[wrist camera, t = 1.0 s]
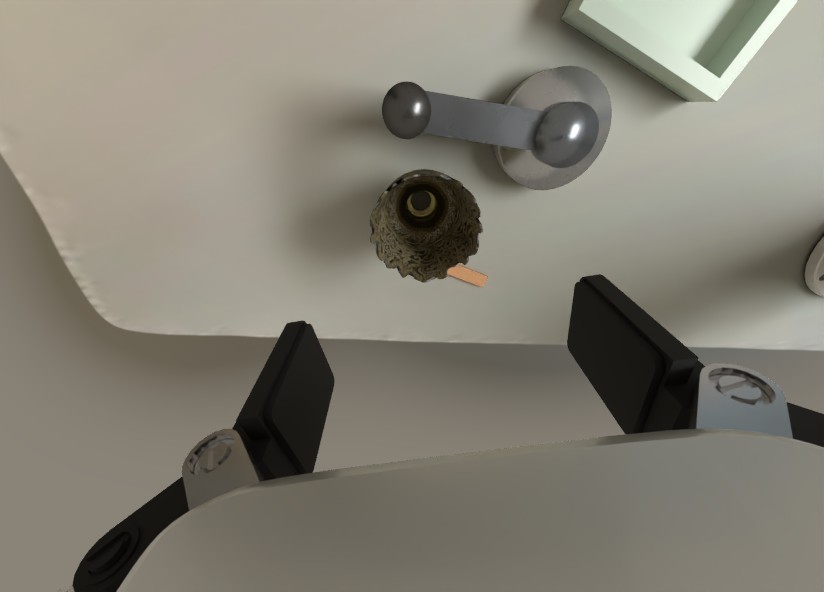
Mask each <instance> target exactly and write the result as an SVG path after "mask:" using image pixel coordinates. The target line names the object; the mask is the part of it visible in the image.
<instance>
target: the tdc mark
mask: <svg viewBox="0 0 824 592" xmlns="http://www.w3.org/2000/svg"><path fill="white" fill-rule="evenodd" d="M447 274H448V275H451V276H454V277H456V278H459V279H462V280H464V281H467V282H470V283H472V284H475V285H478V286H480V287H483V285H484V283H485V282H486V280H487V279H488V276H486V275H483V274H480V273H478V272H475V271H473V270H470V269H467V268H465V267H462V266H460V265H456V266H455V267H451V268H449V269H448V271H447Z"/></svg>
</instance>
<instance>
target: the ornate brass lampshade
mask: <svg viewBox="0 0 824 592" xmlns="http://www.w3.org/2000/svg"><path fill="white" fill-rule="evenodd" d="M420 191H422V192H425V193H427V194H428V195H429V197H430V204H429V206H428V207H427V208H426V209H425V210H417V209H415V208H414V207H413V205H412V197H413V195H414V194H415V193H417V192H420ZM479 217H480V209H479V207H478V205H477V203H476V199H475V198H474V196H473V195H472V194H471V193H470V192H469V191H468V190H467V189H466V188H465V187H463V184H462V183H461V182H459V181H457V180H455V179H453V178H451V177H449V176H447V175H445V174H443V173H441V172H438V171H434V170H426V169H423V170H415V171H411V172H408V173H406V174H404V175H402V176H401V177H399V178H398V179H396V180H395V181H394V182H393V183H392V184H391V185H390V186H389V187H388V188H387V190H385V191H384V193H383V194H382V195H381V197H380V198H379V200H378V202H377V204H376V206H375V207H374V209H373V212H372V214H371V219H370V225H371V229H372V234H371V243H374V244H376V253H377V256H378V258H379V259H380V260H381V261H383V260H384V263H385V264H386V267H387V268H393V269H395V268H396V267H397V269H398V271H399V273H400V274H401V276H402V277H403V278H404V277H406V276H407V275H411V276H412V277H414V279H416V280H418V281H421V282H428V281H430V280H432V279H434V278H436V277H437V278H438V279H444V278H446V277H447V275H448V274H447V271H448V269H449V268H451V267H455V266H456V265H457V264H458V263H463V264H464V265H465V264H467V262H468V256H472V255H475V254H476V253H477V251H478V247H479V241H478V233H481V232H483V229H482V224H481V223H480V221H479V219H478V218H479Z"/></svg>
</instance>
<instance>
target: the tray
mask: <svg viewBox="0 0 824 592" xmlns="http://www.w3.org/2000/svg"><path fill="white" fill-rule="evenodd" d="M797 1H798V0H570V2H569V4H568V6H567V8H566V10H565V12H564V14H563V16H562V18H561V20H563V21H565V22H566V23H568V24H569V25H571V26H572V27H574V28H575V29H577V30H578V31H580V32H582V33H583V34H585V35H586V36H588V37H589V38H591V39H592V40H594V41H595V42H597V43H599V44H600V45H602V46H603V47H605V48H606V49H608V50H609V51H611V52H612V53H614V54H616V55H617V56H619V57H620V58H622V59H623V60H625V61H626V62H628V63H630V64H631V65H633V66H634V67H636V68H637V69H639V70H640V71H642V72H643V73H645V74H647V75H648V76H650V77H651V78H653V79H654V80H656V81H657V82H659V83H660V84H662V85H664V86H665V87H667V88H668V89H670V90H671V91H673V92H674V93H676V94H677V95H679V96H681V97H682V98H684V99H685V100H687V101H688V102H717V101H718V100H719V98H720V97H721V96H722V95H723V93H724V92H725V91H726V90H727V88H728V87H729V86H730V85H731V83H732V82H733V81H734V80H735V78H736V77H737V76H738V75H739V73H740V72H741V71H742V70H743V68H744V67H745V66H746V65H747V63H748V62H749V61H750V60H751V58H752V57H753V56H754V55H755V53H756V52H757V51H758V50H759V48H760V47H761V46H762V45H763V43H764V42H765V41H766V40H767V38H768V37H769V36H770V35H771V33H772V32H773V31H774V30H775V28H776V27H777V26H778V25H779V23H780V22H781V21H782V20H783V18H784V17H785V16H786V15H787V13H788V12H789V11H790V10H791V8H792V7H793V6H794V5H795V3H796V2H797Z"/></svg>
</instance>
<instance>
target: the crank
mask: <svg viewBox="0 0 824 592" xmlns="http://www.w3.org/2000/svg"><path fill="white" fill-rule="evenodd" d="M382 115H383V119H384V122H385V124H386V126H387V128H388V129H389V131H390V132H391V133H392V134H394V135H395V136H397V137H399V138H402V139H411V138H415V137H417V136H419V135H420V134H421V133H423V134H430V135H436V136H442V137H449V138H455V139H461V140H468V141H474V142H480V143H487V144H493V145H499V146H506V147H512V148H518V149H525V150H531V153H532V154H533V156H534V157H535V158H536V159H537V160H538V161H540V162H542V163H544V164H547V165H549V166H551V167H554V168H567V167H570V166H573V165H575V164H577V163H578V162H580V161H581V160H582V159H584V158H585V157H586V156H587V155H588V153H589V152H590V151H591V149H592V148H593V146H594V144H595V142H596V139H597V136H598V132H599V120H598V116H597V114H596V112H595V111H594V109H593V108H592V107H591V106H589V105H588V104H586V103H583V102H558V103H555V104H552V105H550V106H548V107H547V108H545V109H544V110H543V111H540V110H534V109H528V108H522V107H516V106H511V105H505V104H499V103H493V102H487V101H481V100H475V99H470V98H464V97H458V96H452V95H446V94H440V93H434V92H429V91H424V90H423V89H422V88H421V87H420V86H419V85H417V84H415V83H412V82H401V83H398V84H396V85H394V86H393V87H392V88H391V89H390V90H389V91H388V92H387V94H386V96H385V98H384V101H383V106H382Z"/></svg>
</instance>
